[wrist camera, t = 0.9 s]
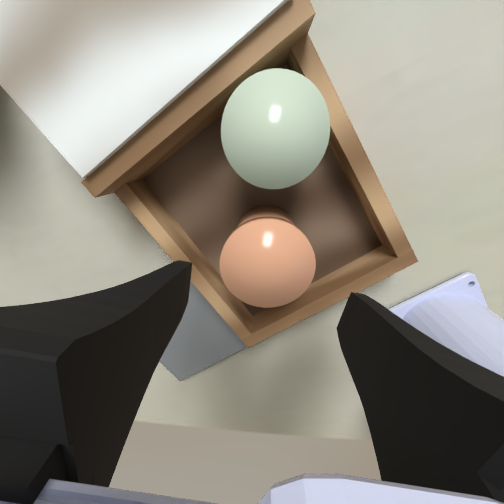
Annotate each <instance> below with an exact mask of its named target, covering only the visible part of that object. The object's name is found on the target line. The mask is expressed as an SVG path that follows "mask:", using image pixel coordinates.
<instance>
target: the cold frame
mask: <svg viewBox="0 0 504 504" xmlns="http://www.w3.org/2000/svg"><path fill="white" fill-rule="evenodd" d="M314 15H315V11H314V8H313V6H312V4H311V2H310V0H0V85H1V87H2V88H3V89H4V90H5V91H6V92H7V93H8V94H9V96H10V97H11V98H12V99H13V100H14V101H15V102H16V104H17V105H18V106H19V107H20V108H21V109H22V110H23V111H24V113H25V114H26V115H27V116H28V117H29V118H30V119H31V120H32V122H33V123H34V124H35V125H36V126H37V127H38V128H39V129H40V131H41V132H42V133H43V134H44V135H45V136H46V137H47V138H48V140H49V141H50V142H51V143H52V144H53V145H54V146H55V148H56V149H57V150H58V151H59V152H60V153H61V154H62V155H63V157H64V158H65V159H66V160H67V161H68V162H69V163H70V164H71V166H72V167H73V168H74V169H75V170H76V171H77V172H78V173H79V175H80V176H81V177H82V178H85V177H87V178H86V179H85V180H83V181H82V182H81V183H82V184H83V185H84V186H85V187H86V188H87V189H88V191H89V192H90V193H91V194H92V195H93V196H94V197H99V196H102V195H106V194H110V193H113V192H115V193H116V195H117V196H118V197H119V198H120V199H121V200H122V202H123V203H124V204H125V205H126V206H127V207H128V209H129V210H130V211H131V212H132V213H133V214H134V216H135V217H136V218H137V219H138V220H139V221H140V223H141V224H142V225H143V226H144V227H145V228H146V230H147V231H148V232H149V233H150V234H151V235H152V237H153V238H154V239H155V240H156V241H157V242H158V244H159V245H160V246H161V247H162V248H163V249H164V251H165V252H166V253H167V254H168V255H169V256H170V257H171V259H172V260H173V261H174V262H175V261H178V260H181V261H186V262H191V263H192V271H191V282H192V283H193V284H194V285H195V287H196V288H197V289H198V290H199V291H200V292H201V294H202V295H203V296H204V297H205V298H206V299H207V301H208V302H209V303H210V304H211V305H212V306H213V308H214V309H215V310H216V311H217V312H218V313H219V315H220V316H221V317H222V318H223V319H224V320H225V322H226V323H227V324H228V325H229V326H230V327H231V328H232V330H233V331H234V332H235V333H236V334H237V335H238V337H239V338H240V339H241V340H242V341H243V342H244V344H245V345H246V346H247V347H248V348H249V347H251V346H253V345H255V344H257V343H259V342H261V341H263V340H265V339H267V338H269V337H271V336H272V335H274V334H276V333H278V332H280V331H282V330H284V329H286V328H288V327H290V326H292V325H294V324H296V323H298V322H300V321H302V320H304V319H306V318H308V317H310V316H312V315H314V314H316V313H318V312H320V311H322V310H324V309H326V308H328V307H330V306H331V305H333V304H335V303H337V302H339V301H341V300H343V299H345V298H347V297H349V296H350V293H351V292H354V293H357V292H359V291H361V290H363V289H365V288H367V287H369V286H371V285H373V284H375V283H377V282H379V281H381V280H383V279H385V278H387V277H388V276H390V275H392V274H394V273H396V272H398V271H400V270H402V269H404V268H406V267H408V266H410V265H412V264H414V263H416V262H418V260H417V258H416V256H415V254H414V252H413V250H412V248H411V246H410V244H409V241H408V239H407V237H406V235H405V233H404V231H403V229H402V227H401V225H400V223H399V221H398V219H397V217H396V215H395V213H394V211H393V208H392V206H391V204H390V202H389V200H388V198H387V196H386V194H385V192H384V190H383V188H382V186H381V184H380V182H379V180H378V178H377V175H376V173H375V171H374V169H373V167H372V165H371V163H370V161H369V159H368V157H367V155H366V153H365V151H364V149H363V147H362V145H361V142H360V140H359V138H358V136H357V134H356V132H355V130H354V128H353V126H352V124H351V122H350V120H349V118H348V116H347V114H346V111H345V109H344V107H343V105H342V103H341V101H340V99H339V97H338V95H337V93H336V91H335V89H334V87H333V85H332V83H331V81H330V78H329V76H328V74H327V72H326V70H325V68H324V66H323V64H322V62H321V60H320V58H319V56H318V54H317V52H316V50H315V48H314V45H313V43H312V41H311V39H310V37H309V35H308V31H309V28H310V26H311V23H312V21H313V18H314ZM274 68H281V69H288V70H292V71H295V72H297V73H299V74H301V75H303V76H305V77H306V78H308V79H309V80H310V81H311V82H312V83H313V84H314V85H315V86H316V87H317V88H318V90H319V91H320V93H321V94H322V96H323V98H324V100H325V102H326V105H327V108H328V112H329V117H330V137H329V141H328V145H327V148H326V151H325V154H324V156H323V158H322V160H321V161H320V163H319V164H318V166H317V167H316V168H315V170H314V171H313V172H312V173H311V174H310V175H309V176H308V177H306V178H305V179H304V180H302V181H300V182H299V183H297V184H295V185H292V186H290V187H286V188H282V189H265V188H261V187H257V186H255V185H252V184H250V183H249V182H247V181H245V180H244V179H243V178H242V177H240V176H239V175H238V174H237V173H236V172H235V170H234V169H233V168H232V166H231V165H230V163H229V161H228V160H227V157H226V155H225V153H224V149H223V146H222V140H221V122H222V116H223V113H224V109H225V106H226V104H227V102H228V100H229V98H230V97H231V95H232V93H233V92H234V91H235V89H236V88H237V87H238V86H239V85H240V84H241V83H242V82H243V81H244V80H246V79H247V78H248V77H250V76H252V75H254V74H255V73H257V72H260V71H263V70H267V69H274ZM262 205H271V206H276V207H278V208H281V209H283V210H284V211H286V212H287V213H288V214H289V215H290V216H291V217H292V219H293V220H294V222H295V224H296V226H297V227H298V228H300V230H301V231H302V232H303V233H304V234H305V235H306V237H307V238H308V240H309V242H310V244H311V246H312V248H313V251H314V254H315V259H316V268H315V274H314V277H313V280H312V282H311V284H310V285H309V287H308V288H307V290H306V291H305V292H304V293H303V294H302V295H301V296H300V297H298V298H297V299H295V300H294V301H292V302H290V303H288V304H285V305H282V306H278V307H272V308H263V307H256V306H252V305H249V304H247V303H245V302H243V301H241V300H239V299H238V298H236V297H235V296H234V295H233V294H232V293H231V292H230V291H229V290H228V288H227V287H226V285H225V284H224V282H223V279H222V277H221V273H220V265H219V264H220V256H221V252H222V249H223V247H224V244H225V242H226V240H227V238H228V237H229V235H230V234H231V233H232V232H233V231H234V230H235V228H236V225H237V223H238V221H239V219H240V218H241V217H242V215H243V214H244V213H246V212H247V211H248V210H250V209H252V208H254V207H257V206H262Z"/></svg>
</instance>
